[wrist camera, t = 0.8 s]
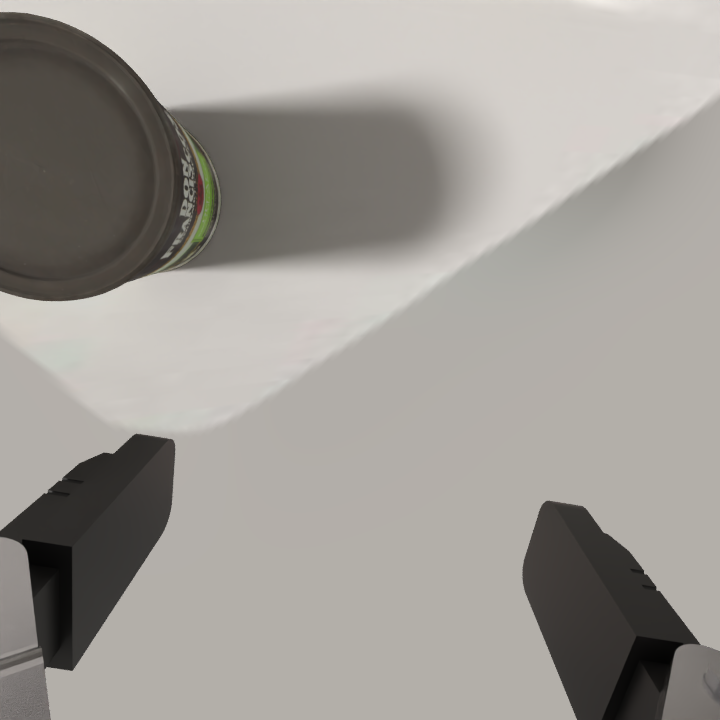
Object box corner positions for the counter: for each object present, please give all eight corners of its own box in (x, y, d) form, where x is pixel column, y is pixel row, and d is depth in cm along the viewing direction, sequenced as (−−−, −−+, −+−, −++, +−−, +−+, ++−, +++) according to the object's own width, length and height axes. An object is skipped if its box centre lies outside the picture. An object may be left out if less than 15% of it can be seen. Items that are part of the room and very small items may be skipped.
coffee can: (224, 120, 32) (182, 38, 18) (218, 280, 34) (176, 312, 21) (51, 94, 30) (-140, -18, 16) (57, 265, 32) (-104, 289, 19)
